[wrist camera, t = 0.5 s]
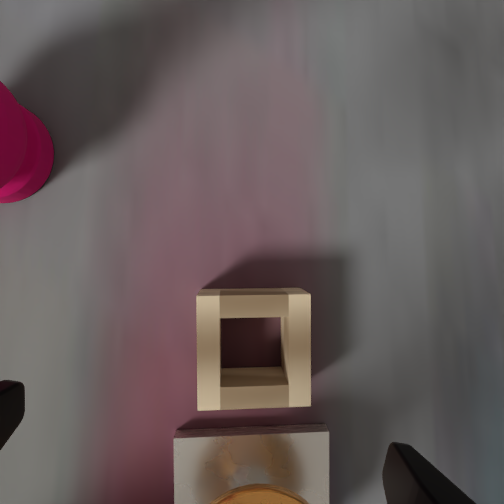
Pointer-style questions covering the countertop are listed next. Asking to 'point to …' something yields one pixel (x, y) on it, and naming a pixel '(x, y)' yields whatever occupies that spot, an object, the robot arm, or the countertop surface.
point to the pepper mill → (22, 150)
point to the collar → (254, 378)
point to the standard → (252, 465)
